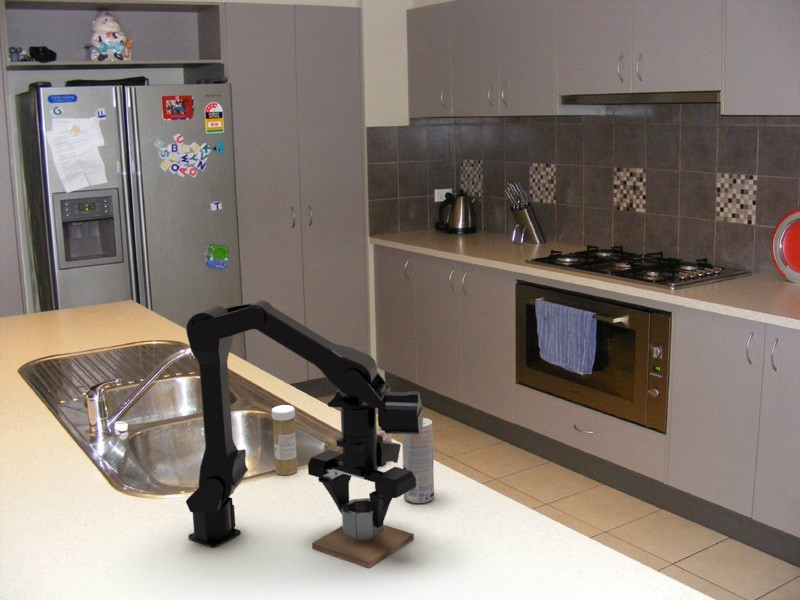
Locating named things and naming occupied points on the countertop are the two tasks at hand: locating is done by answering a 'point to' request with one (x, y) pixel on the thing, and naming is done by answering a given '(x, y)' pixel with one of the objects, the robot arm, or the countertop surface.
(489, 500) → the countertop surface
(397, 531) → the brown peg base
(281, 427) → the sprinkles bottle
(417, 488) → the beverage can
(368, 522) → the ring
